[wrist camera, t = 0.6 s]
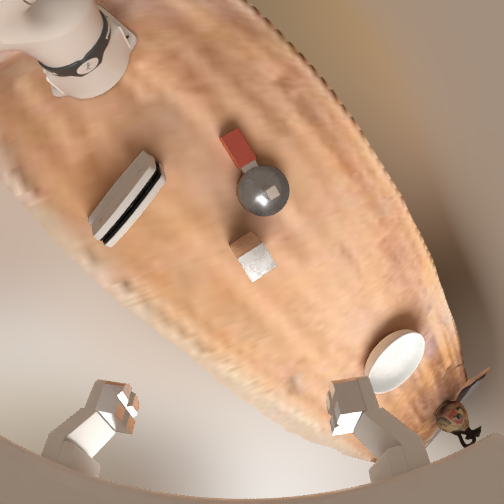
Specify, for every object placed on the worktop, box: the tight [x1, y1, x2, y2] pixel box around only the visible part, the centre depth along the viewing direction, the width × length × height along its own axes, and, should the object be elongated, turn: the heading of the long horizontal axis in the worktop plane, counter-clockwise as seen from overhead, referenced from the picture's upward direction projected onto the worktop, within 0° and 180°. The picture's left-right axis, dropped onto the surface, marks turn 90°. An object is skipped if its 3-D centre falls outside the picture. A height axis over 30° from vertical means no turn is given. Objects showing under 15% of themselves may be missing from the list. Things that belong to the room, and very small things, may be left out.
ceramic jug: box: [435, 401, 481, 448], centre depth 85 cm, size 17×15×30 cm
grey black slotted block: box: [88, 150, 166, 247], centre depth 43 cm, size 17×5×10 cm, turn 136°
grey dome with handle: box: [220, 128, 289, 216], centre depth 47 cm, size 16×9×8 cm, turn 31°
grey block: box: [229, 231, 277, 282], centre depth 50 cm, size 5×5×9 cm
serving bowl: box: [364, 329, 425, 393], centre depth 70 cm, size 21×21×7 cm
